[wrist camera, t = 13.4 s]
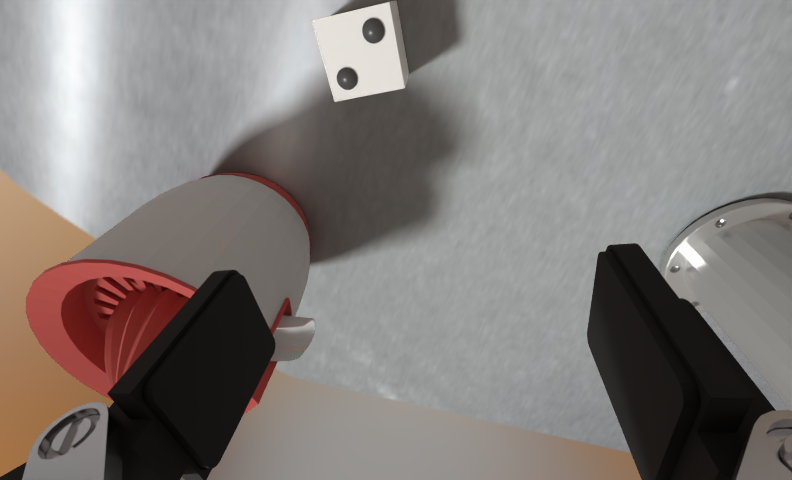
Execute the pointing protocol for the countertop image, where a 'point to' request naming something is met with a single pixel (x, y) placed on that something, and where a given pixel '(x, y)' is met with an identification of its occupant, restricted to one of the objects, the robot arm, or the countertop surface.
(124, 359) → the citrus juicer
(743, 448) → the robot arm
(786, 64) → the countertop surface
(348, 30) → the die
